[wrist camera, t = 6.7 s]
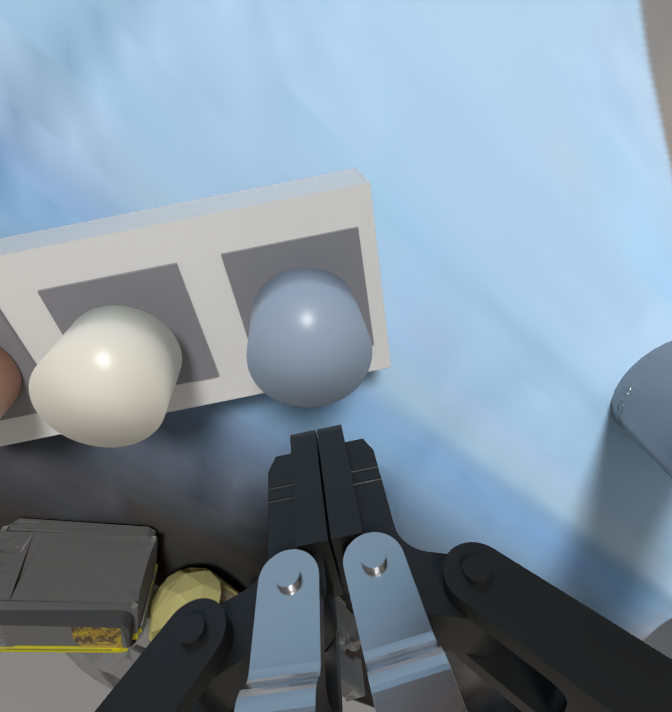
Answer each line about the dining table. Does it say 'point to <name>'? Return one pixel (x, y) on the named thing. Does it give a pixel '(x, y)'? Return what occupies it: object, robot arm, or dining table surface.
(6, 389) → the terracotta button
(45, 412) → the cream button
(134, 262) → the console
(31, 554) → the circular saw
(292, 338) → the slate button
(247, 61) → the dining table surface
